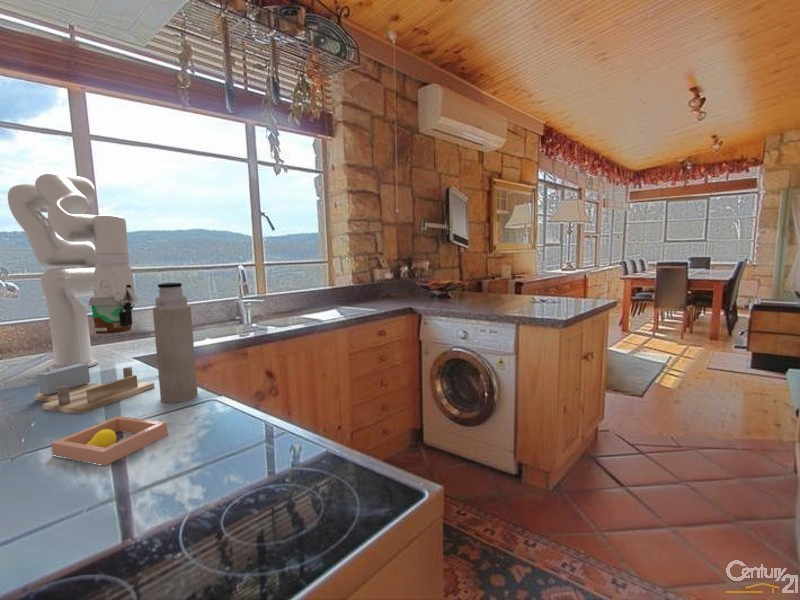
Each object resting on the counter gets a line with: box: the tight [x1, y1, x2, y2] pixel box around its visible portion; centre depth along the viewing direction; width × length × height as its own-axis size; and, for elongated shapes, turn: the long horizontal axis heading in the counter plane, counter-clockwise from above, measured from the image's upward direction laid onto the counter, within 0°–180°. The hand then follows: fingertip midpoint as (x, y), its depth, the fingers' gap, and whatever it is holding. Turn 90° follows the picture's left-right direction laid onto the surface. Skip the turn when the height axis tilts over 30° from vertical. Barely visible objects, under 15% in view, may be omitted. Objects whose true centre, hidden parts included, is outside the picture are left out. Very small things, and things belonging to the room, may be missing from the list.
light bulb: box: [86, 429, 118, 448], centre depth 75 cm, size 3×6×4 cm, turn 141°
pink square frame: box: [50, 415, 169, 466], centre depth 77 cm, size 12×12×2 cm
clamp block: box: [37, 363, 91, 395], centre depth 107 cm, size 3×10×5 cm, turn 162°
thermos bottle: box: [152, 282, 199, 404], centre depth 101 cm, size 8×8×28 cm
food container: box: [88, 297, 133, 335], centre depth 118 cm, size 12×6×10 cm, turn 168°
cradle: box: [34, 366, 155, 415], centre depth 104 cm, size 21×19×5 cm
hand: (118, 324), depth 118 cm, fingers closed on food container, 5 cm apart
